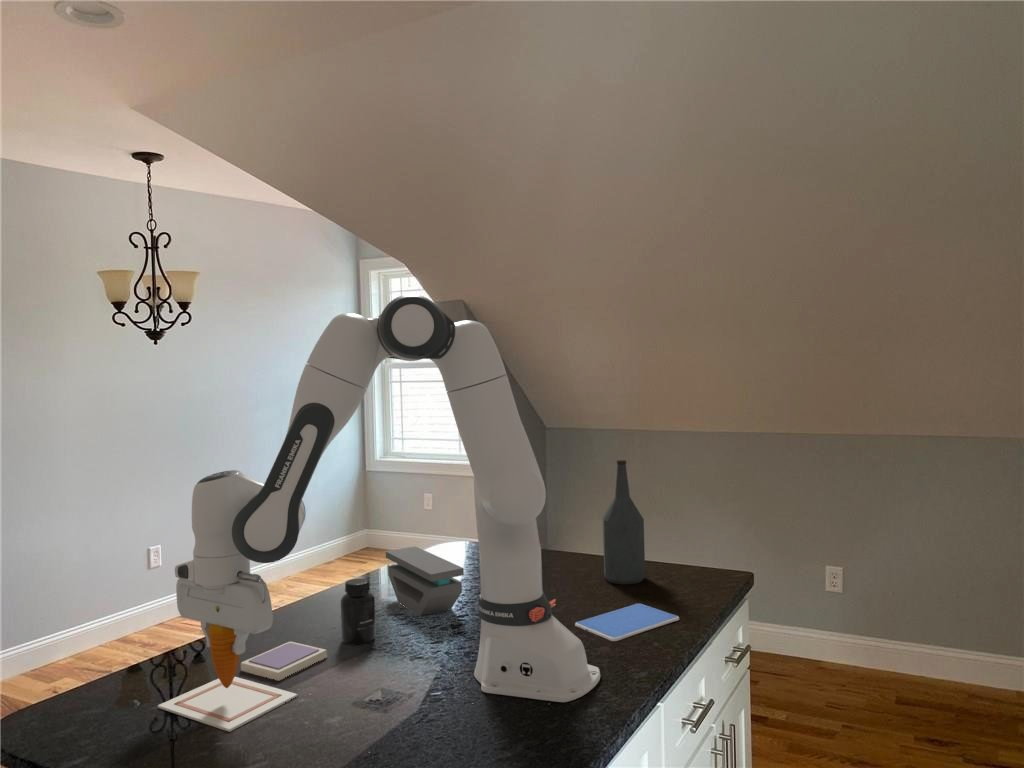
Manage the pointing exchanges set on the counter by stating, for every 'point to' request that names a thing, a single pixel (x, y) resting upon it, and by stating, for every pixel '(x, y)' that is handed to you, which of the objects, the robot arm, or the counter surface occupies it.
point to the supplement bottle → (357, 613)
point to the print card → (227, 703)
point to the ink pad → (283, 660)
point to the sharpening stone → (424, 580)
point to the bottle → (623, 535)
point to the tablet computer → (626, 622)
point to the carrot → (223, 652)
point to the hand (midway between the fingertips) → (226, 649)
